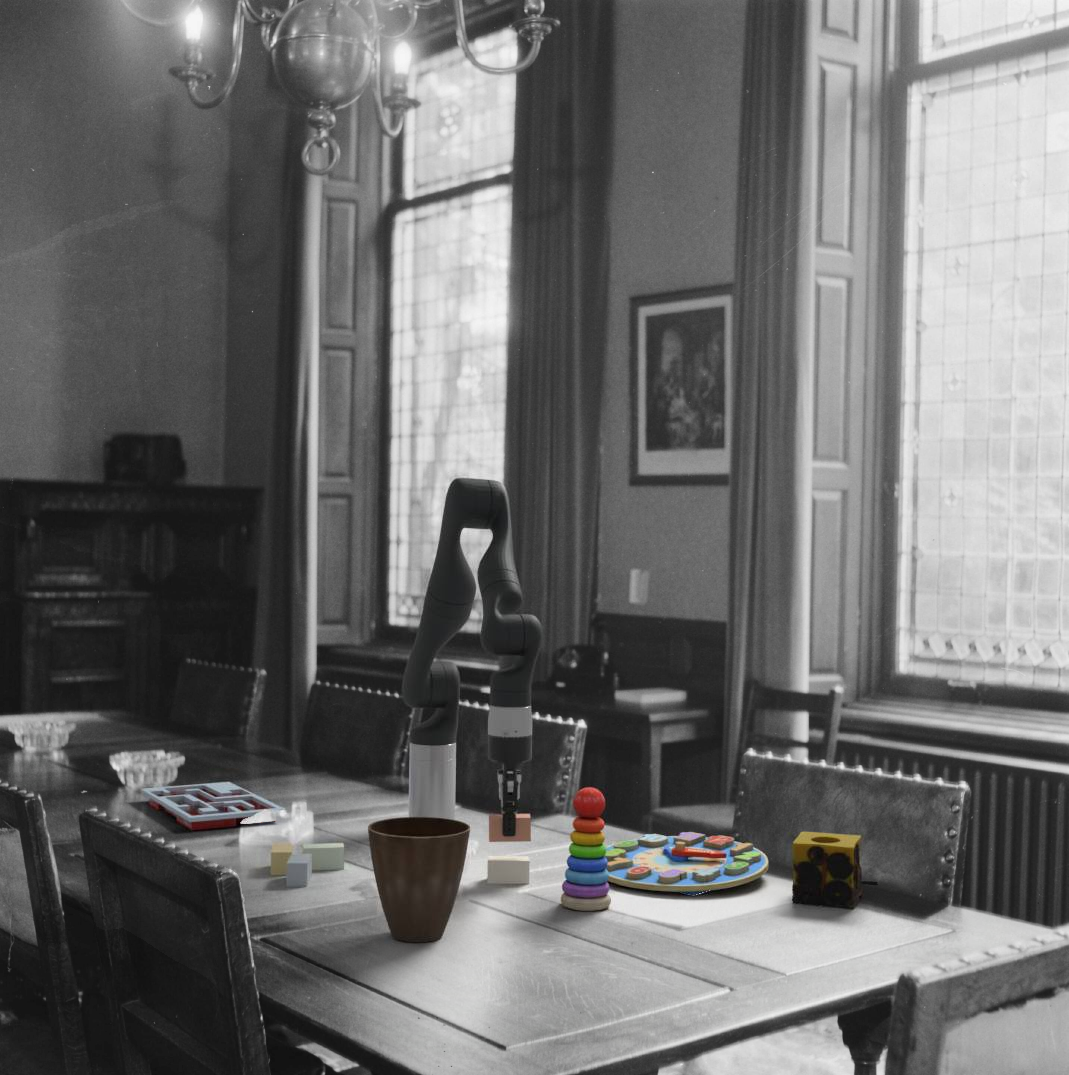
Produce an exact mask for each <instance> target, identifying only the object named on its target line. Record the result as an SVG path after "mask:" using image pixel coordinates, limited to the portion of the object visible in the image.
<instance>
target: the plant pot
mask: <svg viewBox="0 0 1069 1075" xmlns="http://www.w3.org/2000/svg"><path fill="white" fill-rule="evenodd" d="M367 830H368V832H367V834H368V840H369V842H368V843H369V849H370V855H371V856H370V857H371V862H372V869H373V873H374V874H373V875H374V878H375V883H376V888H377V891H378V896H379V900H380V903H381V907H382V910H383V913H384V918H385V921H386V923H387V926H388V928H389V931H390V933H391V936H392V938H393V939H395V940H397V941H400V942H405V943H429V942H434V941H437V940H439V939H441V938H442V937H443V935H444V933H445V931H446V927H447V925H448V922H449V920H450V918H451V914H452V912H453V909H454V905H455V902H456V899H457V895H458V892H459V888H460V884H461V882H462V877H463V872H464V867H465V863H466V858H467V851H468V846H469V841H470V840H469V839H470V833H471V826H470V825H469V823H466V822H465V821H461V820H456V819H455V820H452V819H445V818H435V817H409V816H406V817H404V816H403V817H402V816H401V817H393V818H385V819H381V820H380V819H379V820H376V821H374V822H371V823H370V824H369V825H368V826H367ZM428 941H429V942H428Z"/></svg>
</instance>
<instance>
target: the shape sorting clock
mask: <svg viewBox="0 0 1069 1075" xmlns="http://www.w3.org/2000/svg"><path fill="white" fill-rule="evenodd" d="M606 849H607V851H606V854H605V856H604V857H605V858H606V859H607V861H608V865H607V867H606V869H607V871H608V872H609V878H608V880H607V881H606V882H609V883H612V884H616V885H619V886H623V887H628V888H633V889H640V890H647V891H658V892H671V893H672V892H675V893H678V892H682V893H681V894H683V893H685V894H684V895H687V894H691V895H696V894H699V893H702V892H706V891H709V890H712V891H715V890H721V889H729V888H733V887H738V886H741V885H744V884H748V883H750V882H753V881H755V880H757V879H759V878H761V877H762V876H764V875H765V874H766V872H768V870H769V859H768V856H767V855H766V854H765V853H764V852H763V851H761V850H760V849H758V848H756V847H754V844H753V843H750V842H744V843H742V842H739V841H735V838H734V837H732V836H728V835H727V836H726V835H720V834H719V835H711V836H708V837H707V836H706V834H704V833H700V832H698V833H697V832H694V831H688V832H687V831H686V832H685V831H682V832H680V833H679V834H678V835H670V836H669V835H668V836H666V835H662V834H658V833H652V834H649V833H647V834H643V835H642V837H640V838H635V839H630V840H625V841H620V842H616V843H613V844H610V845H607V846H606ZM709 892H710V891H709ZM706 893H707V892H706ZM702 894H703V893H702ZM691 895H690V896H691ZM699 895H700V894H699ZM696 896H697V895H696Z"/></svg>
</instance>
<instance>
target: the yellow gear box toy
mask: <svg viewBox="0 0 1069 1075" xmlns="http://www.w3.org/2000/svg"><path fill="white" fill-rule="evenodd" d="M861 844H862V836H861V835H859V834H857V835H856V834H844V833H832V832H830V833H828V832H818V831H801V832H800V833H799V834H798V836H797V837H796V838H795V839H794V840H793V842H792V861H791V862H792V865H793V876H792V879H793V880H792V887H791V892H792V897H791V898H792V899H791V902H792V901H793V902H792V903H794V902H796V903H795V904H798V903H801V904H800V905H810V904H812V906H819V905H823V906H822V907H829V908H830V907H832V908H841V909H855V907H856V906H857V905H858V903H859V901H860V897H861V896H862V895H863V885H862V879H863V875H862V867H861V864H860V859H861V857H860V852H861Z"/></svg>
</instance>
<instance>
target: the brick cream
mask: <svg viewBox="0 0 1069 1075" xmlns="http://www.w3.org/2000/svg"><path fill="white" fill-rule="evenodd" d="M486 869H487V873H486V874H487V875H486V876H487V877H486V880H487V884H496V885H498V884H500V885H501V884H502V885H503V884H504V885H505V884H507V885H508V884H510V885H511V884H512V885H513V884H514V885H516V884H517V885H528V884H530V856H527V855H526V856H525V855H519V856H518V855H517V856H516V855H514V856H513V855H487V868H486Z"/></svg>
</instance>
